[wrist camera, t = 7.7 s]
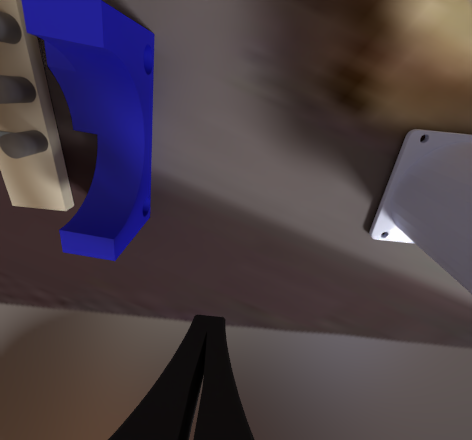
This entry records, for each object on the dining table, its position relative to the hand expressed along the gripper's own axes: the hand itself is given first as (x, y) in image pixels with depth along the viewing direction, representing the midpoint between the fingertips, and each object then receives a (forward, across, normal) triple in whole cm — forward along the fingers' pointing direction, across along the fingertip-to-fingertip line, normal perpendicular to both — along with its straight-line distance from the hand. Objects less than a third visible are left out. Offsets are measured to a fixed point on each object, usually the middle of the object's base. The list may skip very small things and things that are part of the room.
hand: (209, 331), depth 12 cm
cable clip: (+10, +8, -7) cm, 14 cm away
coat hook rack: (+9, +14, -9) cm, 19 cm away
